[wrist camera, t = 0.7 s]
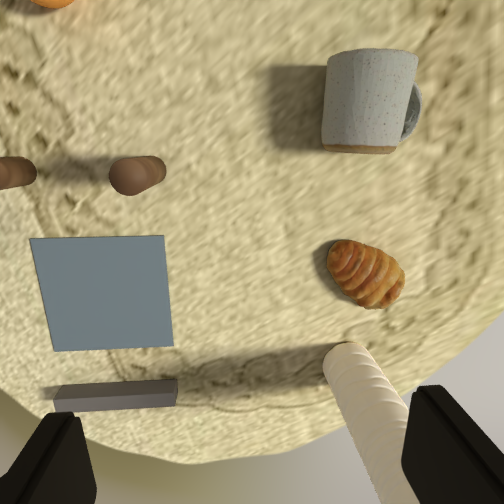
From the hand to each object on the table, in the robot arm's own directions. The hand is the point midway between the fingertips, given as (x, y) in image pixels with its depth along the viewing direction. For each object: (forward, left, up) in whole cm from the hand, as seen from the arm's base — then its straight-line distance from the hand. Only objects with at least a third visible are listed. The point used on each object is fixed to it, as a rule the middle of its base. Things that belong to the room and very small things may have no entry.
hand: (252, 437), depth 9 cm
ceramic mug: (-12, +14, -29) cm, 34 cm away
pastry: (+7, +15, -29) cm, 33 cm away
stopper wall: (+21, -15, -28) cm, 38 cm away
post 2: (-6, -8, -28) cm, 30 cm away
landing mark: (+8, -15, -28) cm, 33 cm away
